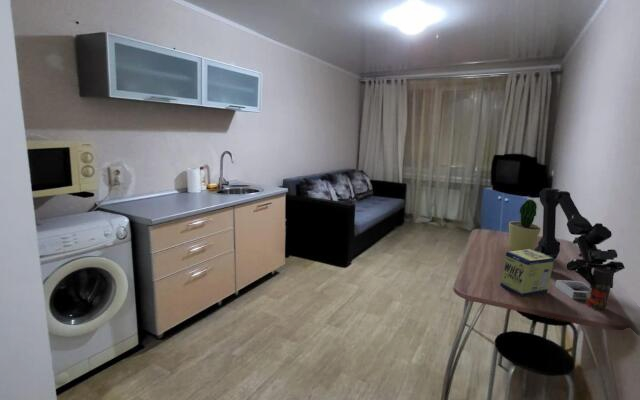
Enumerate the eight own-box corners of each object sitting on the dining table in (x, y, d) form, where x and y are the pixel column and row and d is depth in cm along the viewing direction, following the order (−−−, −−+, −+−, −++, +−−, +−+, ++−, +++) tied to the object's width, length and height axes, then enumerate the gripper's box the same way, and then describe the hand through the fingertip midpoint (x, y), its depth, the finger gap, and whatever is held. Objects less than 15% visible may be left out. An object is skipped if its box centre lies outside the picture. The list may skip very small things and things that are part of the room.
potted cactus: (509, 243, 204) (518, 194, 197) (539, 251, 193) (549, 199, 187) (500, 249, 193) (510, 197, 186) (531, 257, 182) (542, 202, 176)
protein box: (499, 285, 148) (505, 251, 144) (525, 281, 153) (532, 248, 150) (521, 297, 138) (528, 261, 135) (548, 292, 144) (555, 257, 140)
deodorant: (581, 302, 137) (590, 266, 133) (595, 302, 137) (604, 267, 134) (594, 310, 131) (603, 273, 128) (609, 310, 131) (618, 273, 128)
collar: (555, 286, 150) (556, 279, 149) (580, 287, 150) (581, 281, 149) (572, 298, 139) (573, 291, 139) (599, 300, 139) (600, 293, 138)
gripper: (578, 239, 133) (592, 278, 124) (627, 242, 132) (645, 281, 124) (560, 251, 142) (573, 288, 134) (606, 254, 142) (621, 291, 133)
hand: (603, 287), depth 131 cm, fingers closed on deodorant, 6 cm apart
